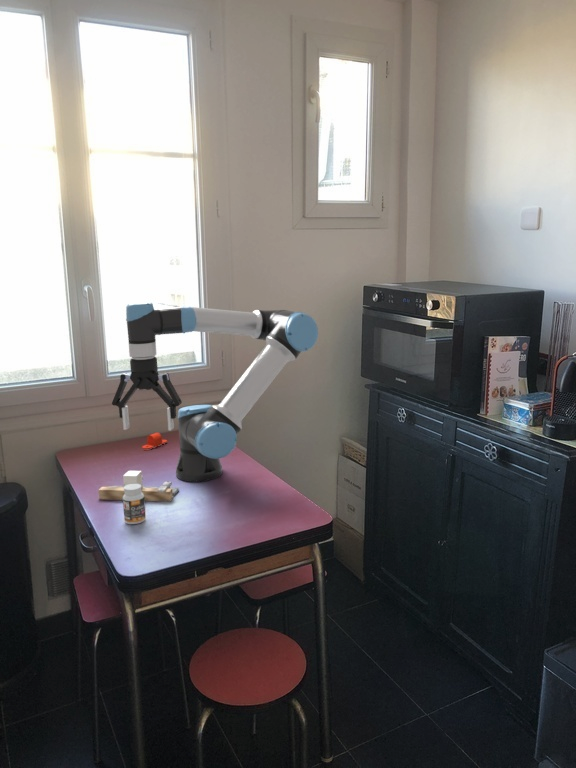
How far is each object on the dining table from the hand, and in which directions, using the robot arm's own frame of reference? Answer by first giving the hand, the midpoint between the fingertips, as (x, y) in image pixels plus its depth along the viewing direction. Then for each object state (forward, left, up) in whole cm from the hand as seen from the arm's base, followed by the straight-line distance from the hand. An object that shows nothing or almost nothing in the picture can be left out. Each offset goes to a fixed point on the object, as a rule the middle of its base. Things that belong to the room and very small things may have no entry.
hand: (148, 428), depth 182 cm
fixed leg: (-3, -2, -20) cm, 21 cm away
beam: (+6, 0, -22) cm, 22 cm away
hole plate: (+6, -5, -22) cm, 23 cm away
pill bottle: (0, +15, -22) cm, 27 cm away
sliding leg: (+6, -1, -21) cm, 22 cm away
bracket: (+17, -50, -22) cm, 58 cm away
